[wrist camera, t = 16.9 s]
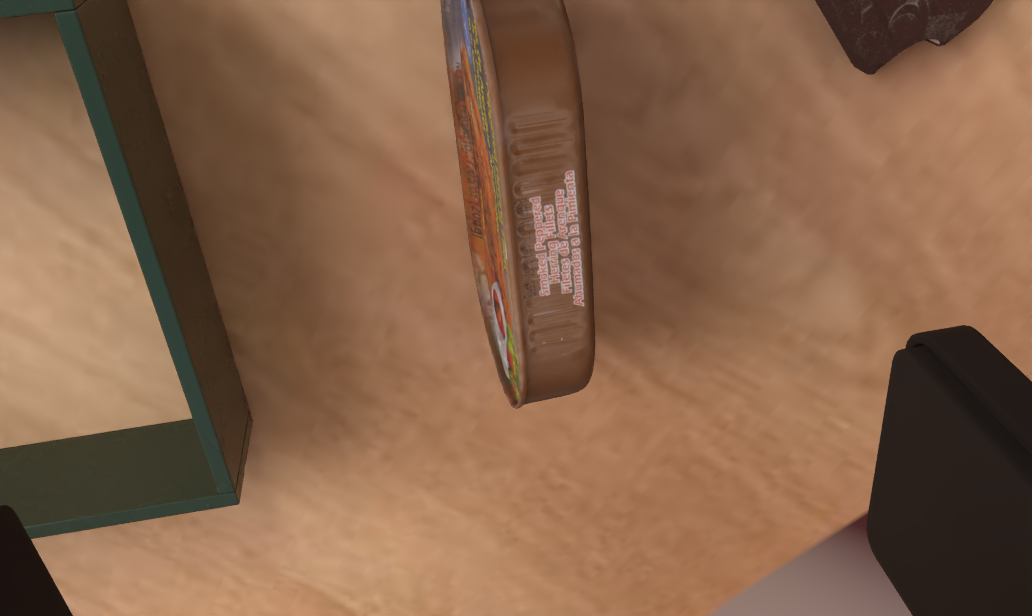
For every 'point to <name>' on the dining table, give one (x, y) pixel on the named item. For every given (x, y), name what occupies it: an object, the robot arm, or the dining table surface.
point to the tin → (524, 189)
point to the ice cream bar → (895, 25)
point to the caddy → (177, 300)
